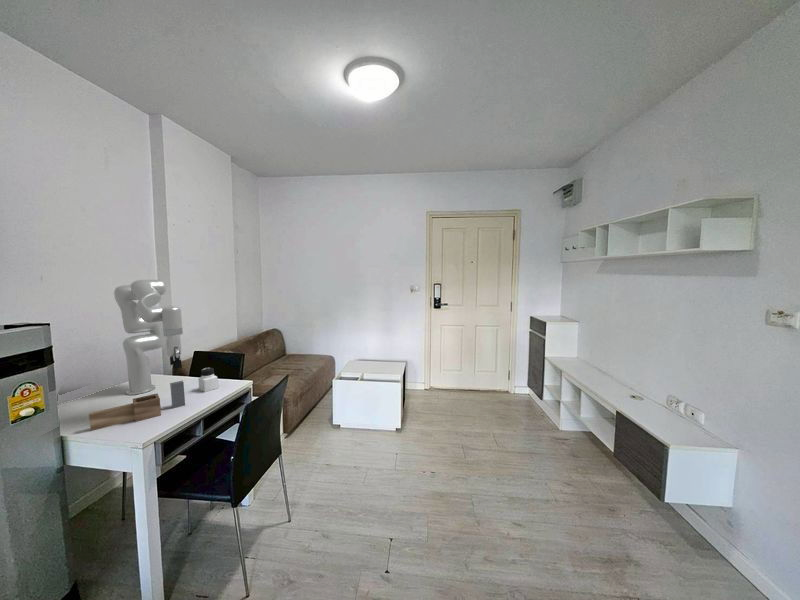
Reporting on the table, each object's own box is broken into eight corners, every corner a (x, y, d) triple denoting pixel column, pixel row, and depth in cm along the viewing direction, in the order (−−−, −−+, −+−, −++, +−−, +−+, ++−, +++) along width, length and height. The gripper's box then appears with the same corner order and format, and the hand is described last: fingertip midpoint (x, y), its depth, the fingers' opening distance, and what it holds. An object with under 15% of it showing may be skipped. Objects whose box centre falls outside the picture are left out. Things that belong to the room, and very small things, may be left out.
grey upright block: (171, 406, 148) (170, 383, 147) (184, 403, 151) (182, 380, 150) (172, 408, 146) (170, 384, 145) (185, 405, 149) (183, 382, 148)
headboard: (91, 426, 129) (89, 408, 129) (158, 409, 145) (157, 393, 145) (90, 433, 123) (88, 415, 122) (161, 415, 139) (159, 398, 138)
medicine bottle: (218, 388, 171) (217, 368, 170) (204, 392, 166) (203, 371, 165) (212, 385, 175) (211, 366, 174) (198, 389, 170) (197, 369, 168)
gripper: (161, 331, 149) (164, 364, 150) (165, 335, 137) (168, 371, 138) (179, 329, 154) (182, 361, 156) (185, 333, 142) (188, 368, 143)
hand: (176, 366), depth 147 cm, fingers open, 9 cm apart
